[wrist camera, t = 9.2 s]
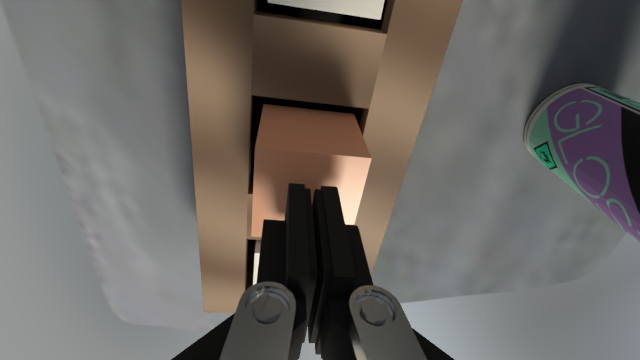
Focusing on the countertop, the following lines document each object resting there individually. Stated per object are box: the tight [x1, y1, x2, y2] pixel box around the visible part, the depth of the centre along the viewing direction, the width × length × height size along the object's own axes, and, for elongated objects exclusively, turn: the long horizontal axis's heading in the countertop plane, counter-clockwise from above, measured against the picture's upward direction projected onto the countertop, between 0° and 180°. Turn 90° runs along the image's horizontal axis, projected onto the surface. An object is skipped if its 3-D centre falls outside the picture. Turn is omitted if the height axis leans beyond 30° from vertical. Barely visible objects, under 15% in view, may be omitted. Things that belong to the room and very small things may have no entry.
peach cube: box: [251, 104, 372, 237], centre depth 14 cm, size 4×4×4 cm
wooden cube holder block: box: [181, 0, 463, 313], centre depth 18 cm, size 24×10×6 cm, turn 172°
